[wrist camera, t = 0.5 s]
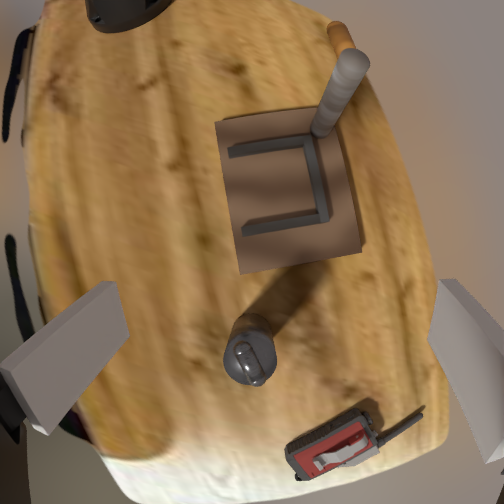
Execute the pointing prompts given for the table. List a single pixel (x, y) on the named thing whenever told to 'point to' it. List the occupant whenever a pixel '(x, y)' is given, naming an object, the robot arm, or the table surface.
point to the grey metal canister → (250, 351)
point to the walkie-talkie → (338, 445)
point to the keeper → (293, 175)
